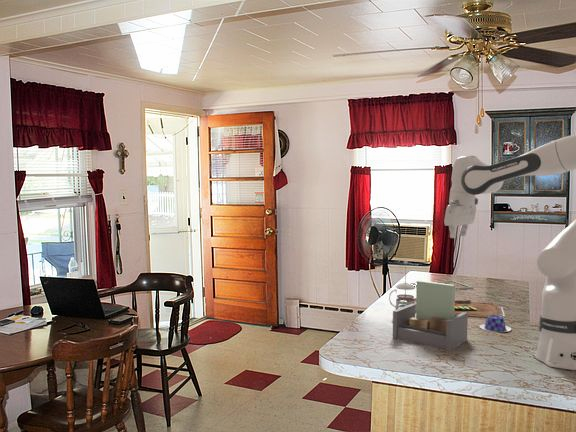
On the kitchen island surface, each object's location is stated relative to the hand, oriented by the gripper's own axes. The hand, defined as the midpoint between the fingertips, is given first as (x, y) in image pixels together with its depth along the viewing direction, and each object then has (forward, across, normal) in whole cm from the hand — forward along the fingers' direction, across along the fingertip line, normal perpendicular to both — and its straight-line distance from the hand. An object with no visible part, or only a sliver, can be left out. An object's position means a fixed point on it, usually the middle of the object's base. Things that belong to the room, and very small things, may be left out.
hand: (457, 236), depth 204 cm
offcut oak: (+37, -12, +6) cm, 40 cm away
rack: (+38, -12, +2) cm, 40 cm away
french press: (+41, +13, +25) cm, 50 cm away
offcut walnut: (+37, -12, -2) cm, 39 cm away
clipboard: (+42, +88, +40) cm, 105 cm away
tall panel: (+37, -8, +2) cm, 38 cm away
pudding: (+38, +22, -11) cm, 45 cm away
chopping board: (+40, +43, +16) cm, 61 cm away
